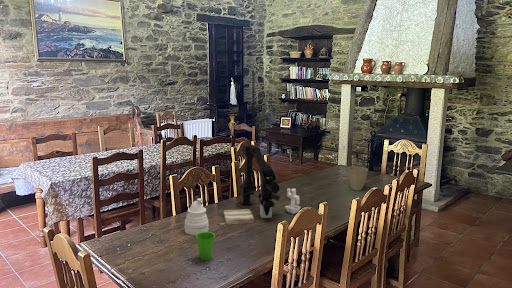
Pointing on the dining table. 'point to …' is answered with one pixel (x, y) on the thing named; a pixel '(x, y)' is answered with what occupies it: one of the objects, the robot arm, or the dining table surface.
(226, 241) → the dining table surface
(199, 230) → the honey pot
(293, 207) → the figurine
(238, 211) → the birch base
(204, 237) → the cup
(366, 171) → the plant pot
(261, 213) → the sage cube
